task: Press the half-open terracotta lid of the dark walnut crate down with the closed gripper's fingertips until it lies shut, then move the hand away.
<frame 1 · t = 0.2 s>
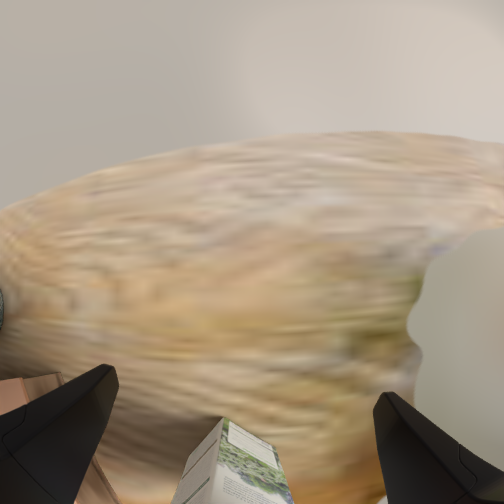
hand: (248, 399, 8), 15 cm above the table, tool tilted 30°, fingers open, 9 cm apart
syrup box: (232, 451, 20), on the table
crate: (41, 461, 18), on the table
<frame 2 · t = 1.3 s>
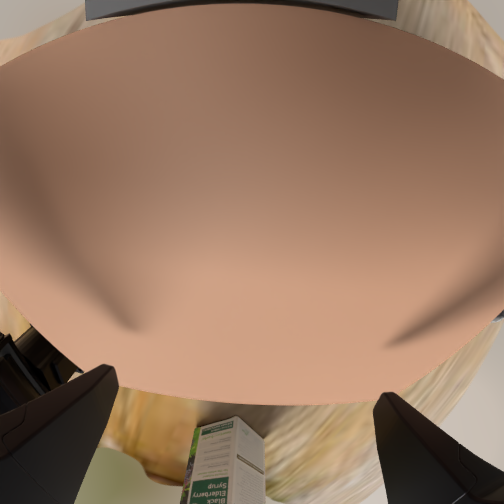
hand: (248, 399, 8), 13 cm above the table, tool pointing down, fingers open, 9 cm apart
lid: (238, 322, 9), point 11 cm above the table, hinge at 30.0°
syrup box: (230, 433, 27), on the table
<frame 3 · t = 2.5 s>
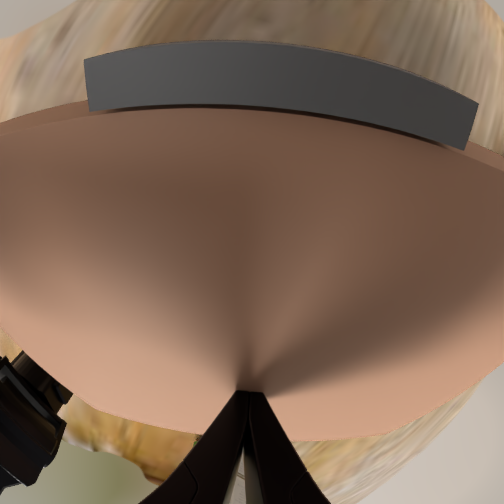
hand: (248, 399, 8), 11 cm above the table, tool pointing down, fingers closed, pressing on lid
lid: (247, 381, 9), point 10 cm above the table, hinge at 23.9°, touching gripper
syrup box: (229, 446, 27), on the table
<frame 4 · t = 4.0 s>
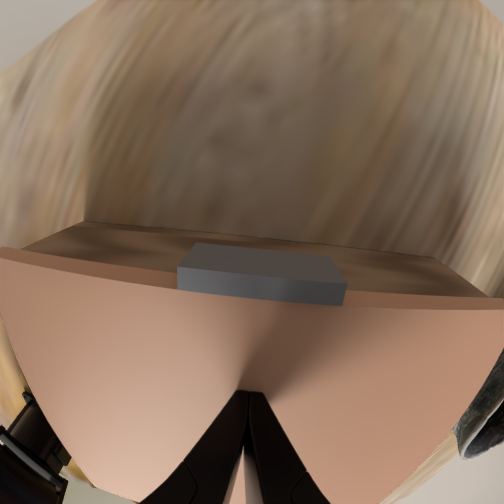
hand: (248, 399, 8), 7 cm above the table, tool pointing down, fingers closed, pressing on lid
lid: (238, 456, 10), point 6 cm above the table, hinge at 0.2°, touching gripper
mug: (483, 357, 16), on the table
crate: (245, 377, 17), on the table
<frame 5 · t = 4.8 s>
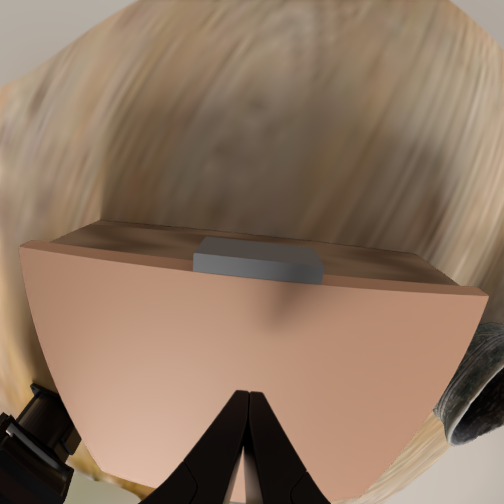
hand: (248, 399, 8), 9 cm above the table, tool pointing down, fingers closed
lid: (238, 429, 12), point 6 cm above the table, hinge at 0.1°
mug: (470, 349, 18), on the table
crate: (244, 363, 19), on the table
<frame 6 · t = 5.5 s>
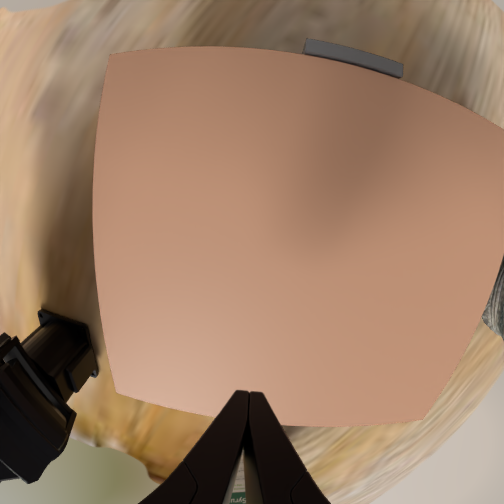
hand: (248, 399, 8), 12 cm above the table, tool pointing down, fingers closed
lid: (319, 273, 12), point 6 cm above the table, hinge at 0.1°
syrup box: (246, 443, 26), on the table
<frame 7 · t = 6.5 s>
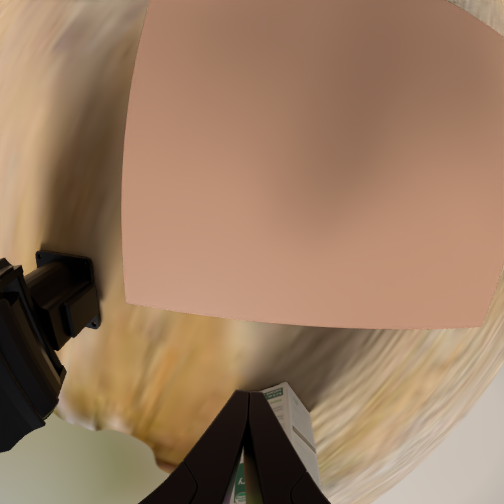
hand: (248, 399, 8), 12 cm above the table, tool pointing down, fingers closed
lid: (367, 119, 11), point 6 cm above the table, hinge at 0.1°
syrup box: (272, 406, 24), on the table
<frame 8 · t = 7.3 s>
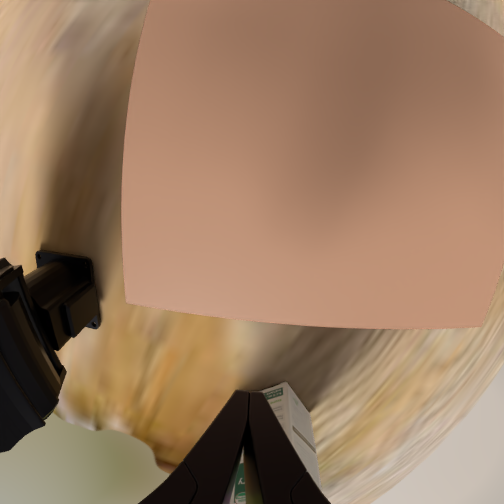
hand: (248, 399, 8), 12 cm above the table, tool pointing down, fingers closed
lid: (367, 119, 11), point 6 cm above the table, hinge at 0.1°
syrup box: (272, 406, 24), on the table
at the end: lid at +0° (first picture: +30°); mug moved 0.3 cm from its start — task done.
